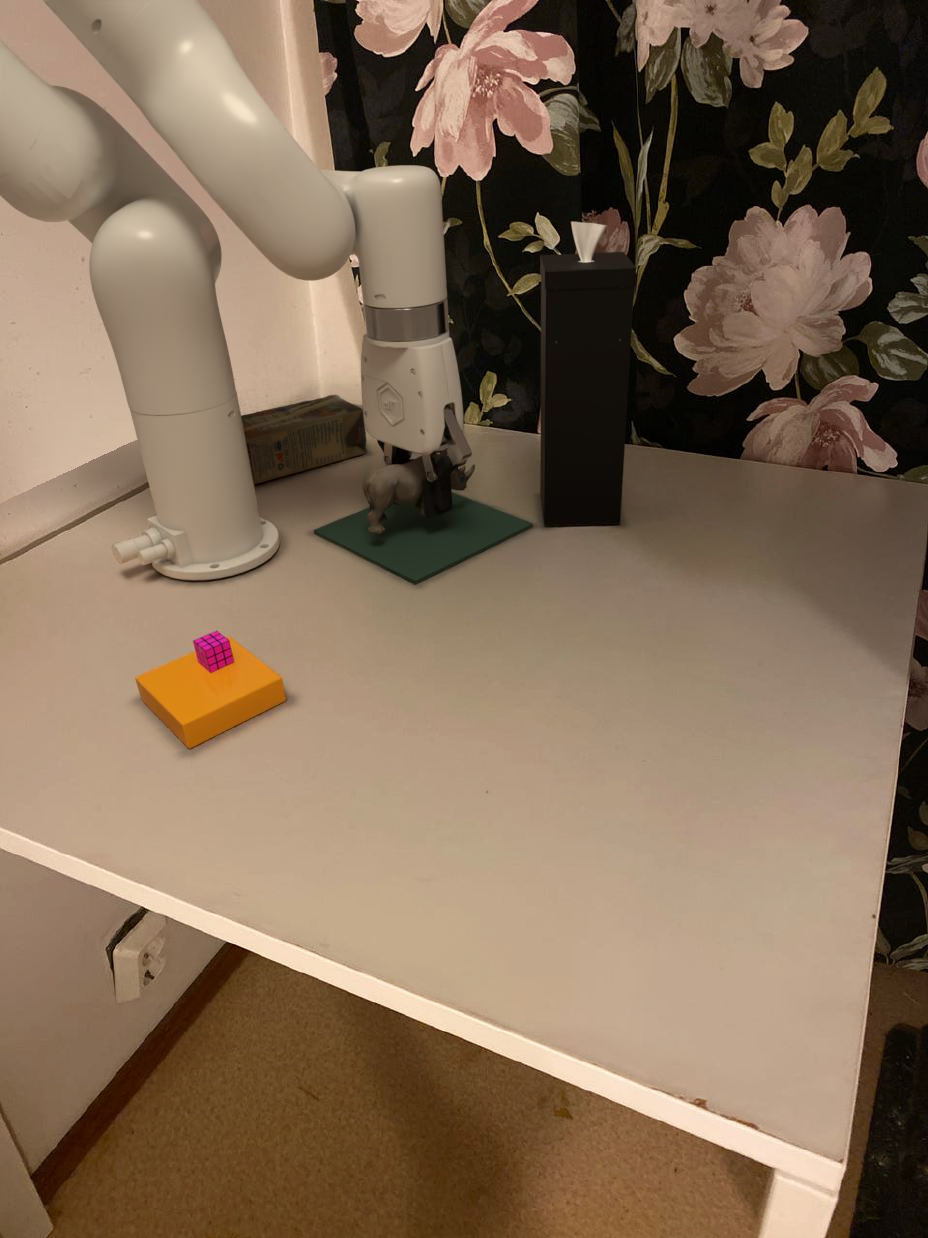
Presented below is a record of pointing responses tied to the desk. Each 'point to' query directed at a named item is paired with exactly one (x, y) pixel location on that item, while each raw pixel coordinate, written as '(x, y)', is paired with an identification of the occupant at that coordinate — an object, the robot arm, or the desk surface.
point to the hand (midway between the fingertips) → (422, 505)
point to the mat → (424, 536)
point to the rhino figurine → (402, 488)
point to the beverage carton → (303, 436)
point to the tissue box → (584, 380)
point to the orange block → (210, 689)
